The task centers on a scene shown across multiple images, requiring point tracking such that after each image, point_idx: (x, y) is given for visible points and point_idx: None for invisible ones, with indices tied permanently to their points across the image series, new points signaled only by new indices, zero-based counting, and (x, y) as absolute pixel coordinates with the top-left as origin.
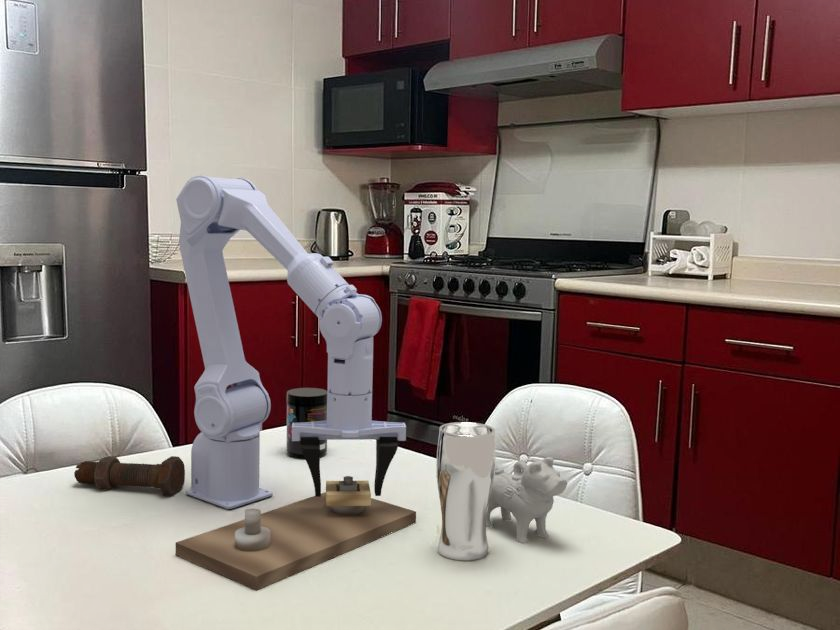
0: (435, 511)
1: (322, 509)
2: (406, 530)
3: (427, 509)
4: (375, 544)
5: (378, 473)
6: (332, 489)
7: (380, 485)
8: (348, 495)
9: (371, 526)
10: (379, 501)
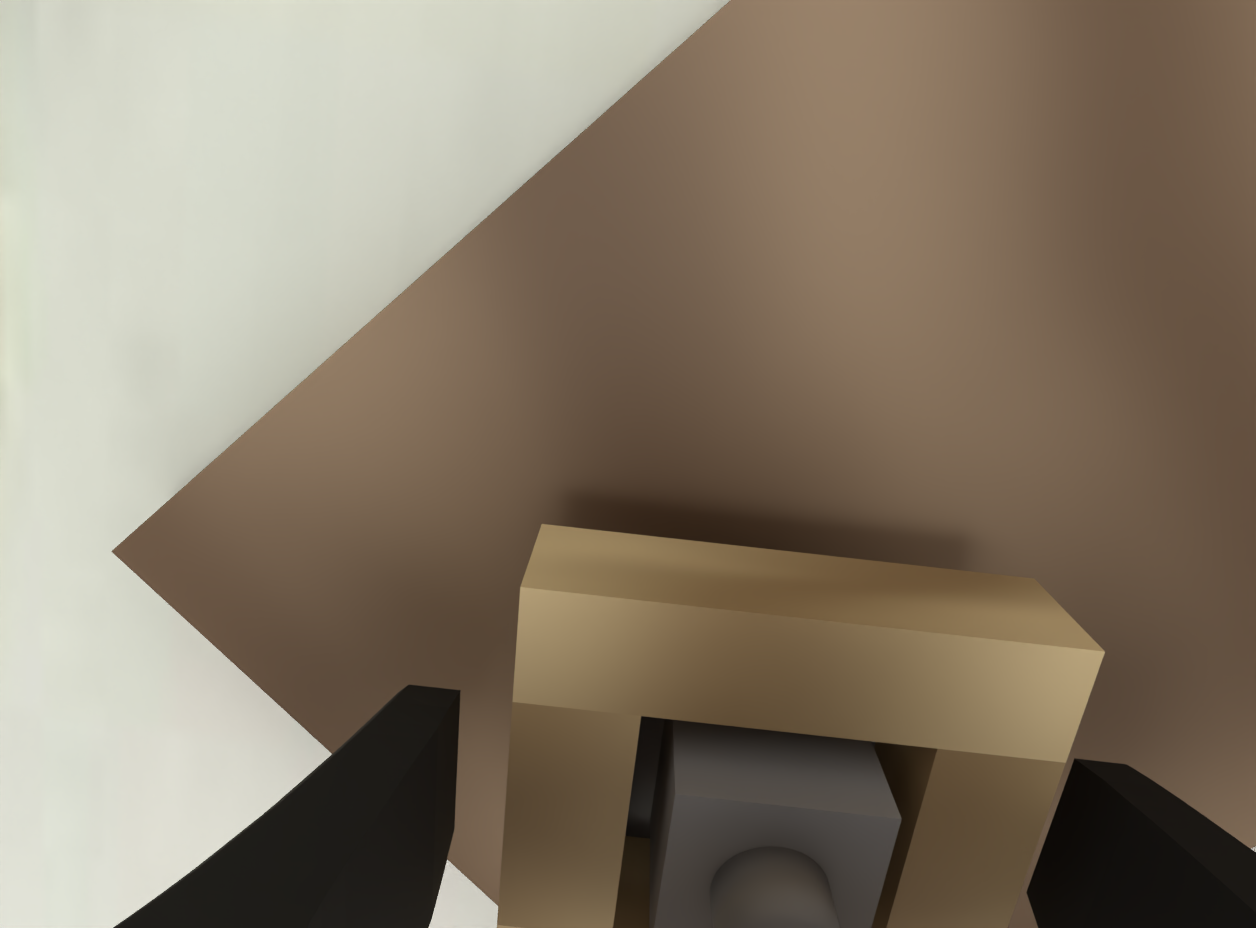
0: (14, 712)
1: None
2: (262, 358)
3: (77, 757)
4: (576, 54)
5: (323, 880)
6: (970, 812)
7: (360, 745)
8: (815, 610)
9: (584, 218)
10: None
